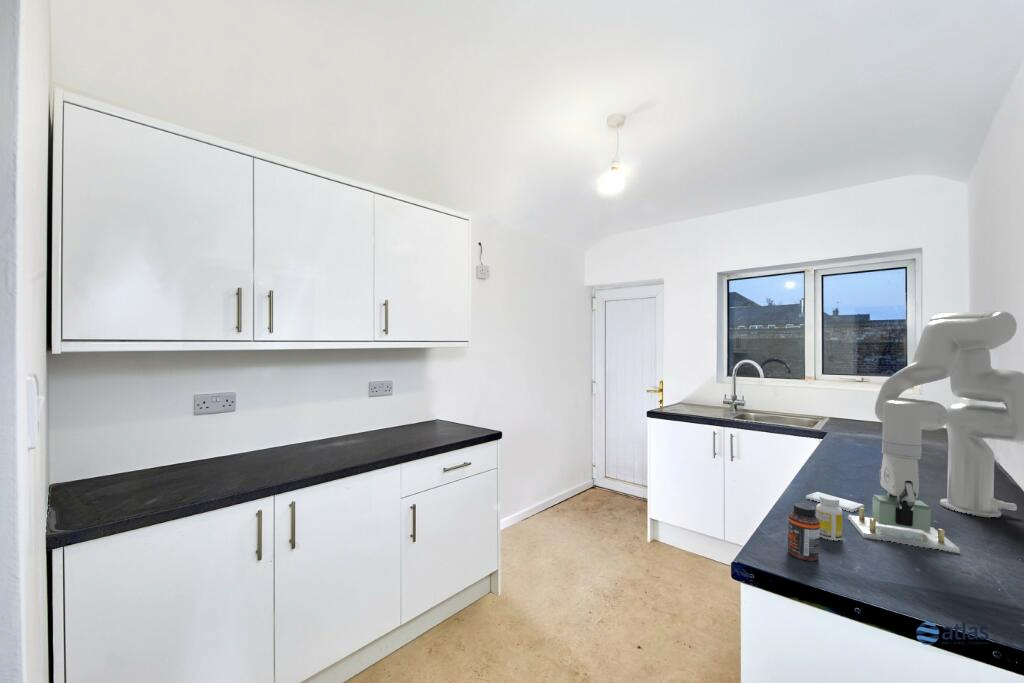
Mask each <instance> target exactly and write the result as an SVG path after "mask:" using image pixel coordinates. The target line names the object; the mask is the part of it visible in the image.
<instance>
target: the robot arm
mask: <svg viewBox="0 0 1024 683" xmlns="http://www.w3.org/2000/svg"><path fill="white" fill-rule="evenodd" d="M1017 328H1018V323H1017V320H1016V318H1015V316H1014V315H1013V314H1011V313H1010V312H1007V311H1001V310H1000V311H978V312H977V311H976V312H975V311H973V312H972V311H969V312H968V311H967V312H966V311H964V312H963V311H962V312H949V313H948V312H947V313H939V314H937V315H936V314H935V315H934V316H932V317H931V318H930V319H929V322H928V323H927V324H926V325H925V326H924V329H923V331H922V333H921V335H920V338H919V341H918V345H917V347H916V350H915V353H914V355H913V358H912V361H911V363H910V364H908V365H907V366H905V367H903V368H902V369H900V370H898V371H897V372H895V373H894V374H892V375H891V376H890V377H889V378H887V379H886V380H885V381H884V383H883V384H882V386H881V387H880V390H879V393H878V395H877V399H876V401H875V405H874V413H875V417H876V418H877V419H878V421H879V422H881V423H882V432H881V433H882V434H881V435H882V436H881V453H882V456H883V457H882V462H881V481H879V482H880V487H881V488H882V489H883V488H884V489H883V490H884V491H886V493H887V495H886V496H888V497H896V498H897V504H898V508H896V520H895V522H896V523H897V524H898V525H905V526H913V510H914V508H913V505H914V504H915V502H916V500H917V498H918V497H919V490H920V488H919V487H920V486H919V485H920V483H919V482H920V480H919V478H920V476H919V462H918V460H920V459H922V436H923V433H922V432H923V430H927V431H936V430H937V431H938V430H940V429H942V428H943V427H946V432H947V440H948V441H947V442H948V444H947V445H948V448H947V449H948V450H947V452H948V453H947V455H948V456H947V485H946V486H947V490H946V494H947V495H946V496H947V497H946V498H941V499H940V500H939V504H940V506H942V507H944V508H946V509H948V508H949V509H948V510H951V511H954V510H955V511H954V512H957V511H958V513H961V512H962V514H965V513H967V514H966V515H969V514H972V515H971V516H975V515H976V517H983V518H991V517H996V518H1001V516H1002V512H1001V510H1003V509H1004V510H1007V511H1008V510H1010V511H1014V512H1015V511H1017V509H1018V506H1017V504H1016V503H1013V502H1012V503H1011V502H1005V501H1004V500H998V499H996V498H995V497H994V488H995V487H994V484H995V483H994V482H995V480H994V479H995V453H994V451H993V449H992V447H991V446H989V444H988V443H987V441H986V440H984V439H989V440H990V439H991V440H996V441H1001V442H1002V441H1003V442H1009V443H1024V372H1022V371H1018V370H1012V369H994V368H993V367H992V363H991V362H992V361H991V352H990V350H994V349H996V348H998V347H1000V346H1002V345H1004V344H1006V343H1008V342H1010V341H1011V340H1012V339H1013V338H1014V336H1015V334H1016V333H1017ZM947 378H949V381H950V382H949V383H950V389H951V390H950V391H951V393H952V394H953V397H954V396H955V397H956V398H959V399H963V400H968V401H978V402H985V403H986V402H988V403H994V404H995V403H996V404H1002V405H1003V406H1004V407H1003V406H1002V407H1001V406H992V405H986V404H975V403H974V404H973V403H955V404H951V405H950V406H949V405H948V407H947V408H946V407H945V406H944V405H943V404H941V403H938V402H937V401H932V400H924V399H915V398H906V397H900V396H901V394H903V393H904V392H905V391H907V390H909V389H911V388H914V387H917V386H920V385H925V384H929V383H933V382H937V381H941V380H944V379H947ZM904 495H905V496H904ZM902 499H906V500H903V502H902Z"/></svg>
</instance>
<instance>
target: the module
mask: <svg viewBox="0 0 1024 683" xmlns="http://www.w3.org/2000/svg"><path fill="white" fill-rule="evenodd" d="M903 500H906V499H902V502H903ZM915 500H916V502H915V504H914V505H913V508H914V510H913V526H905V525H898V524H897V523H896V522H895V520H896V508H898V504H897V498H896V497H888V496H887V495H877V494H873V497H872V502H871V503H872V509H871V512H872V515H871V516H872V517H871V518H874V519H876V521H877V522H878V523H879V524H883V525H890V526H897V527H903V528H910V529H917V530H924V531H930V527H931V515H932V514H931V513H932V510H931V509H930V506H929V505H928V504H926V503H925V502H923V501H922V500H918V499H915Z"/></svg>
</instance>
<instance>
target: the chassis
mask: <svg viewBox="0 0 1024 683" xmlns="http://www.w3.org/2000/svg"><path fill="white" fill-rule="evenodd" d="M847 517H848V518H847V519H848V521H849V520H850V521H849V522H850V523H851V525H853V526H854V528H855V529H856V531H858V533H860V535H861V537H863V538H864V539H870V540H875V539H876V541H877V540H878V541H881V540H883V541H882V542H887V541H891V542H890V543H893V542H897V543H896V544H899V543H902V544H901V545H905V544H908V545H907V546H911V545H913V547H917V546H919V547H918V548H923V547H925V548H924V549H929V548H932V549H931V550H935V549H939V550H938V551H941V550H943V552H947V551H948V552H949V553H954V554H960V548H959V546H957V545H956V544H954V542H952V541H951V540H950V539H948V538H947V537H946V536H945V534H946V530H945V529H943V528H937V529H935V527H932V526H930V531H924V530H917V529H910V528H903V527H897V526H890V525H883V524H879V523H878V522H877V521H876V519H874V518H873V517H867V516H866V508H865V507H864V508H861V507H860V508H859V510H858V515H853V514H848V516H847Z"/></svg>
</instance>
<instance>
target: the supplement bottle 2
mask: <svg viewBox="0 0 1024 683" xmlns="http://www.w3.org/2000/svg"><path fill="white" fill-rule="evenodd" d="M829 495H830V494H827V495H820V499H819V500H820V502H821V503H818V504H816V506H815V516H816V517H817V518H818V519H819V520H820V538H821V537H822V539H825V540H827V539H828V541H833V540H834V542H837V541H838V540H840V541H842V540H843V519H844V518H843V515H844V514H843V510H842V509H841V508H839V507H838V505H839V499H838V498H839V497H838V498H836V497H837V496H834V497H833V495H831V496H829ZM838 542H839V541H838Z"/></svg>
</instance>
